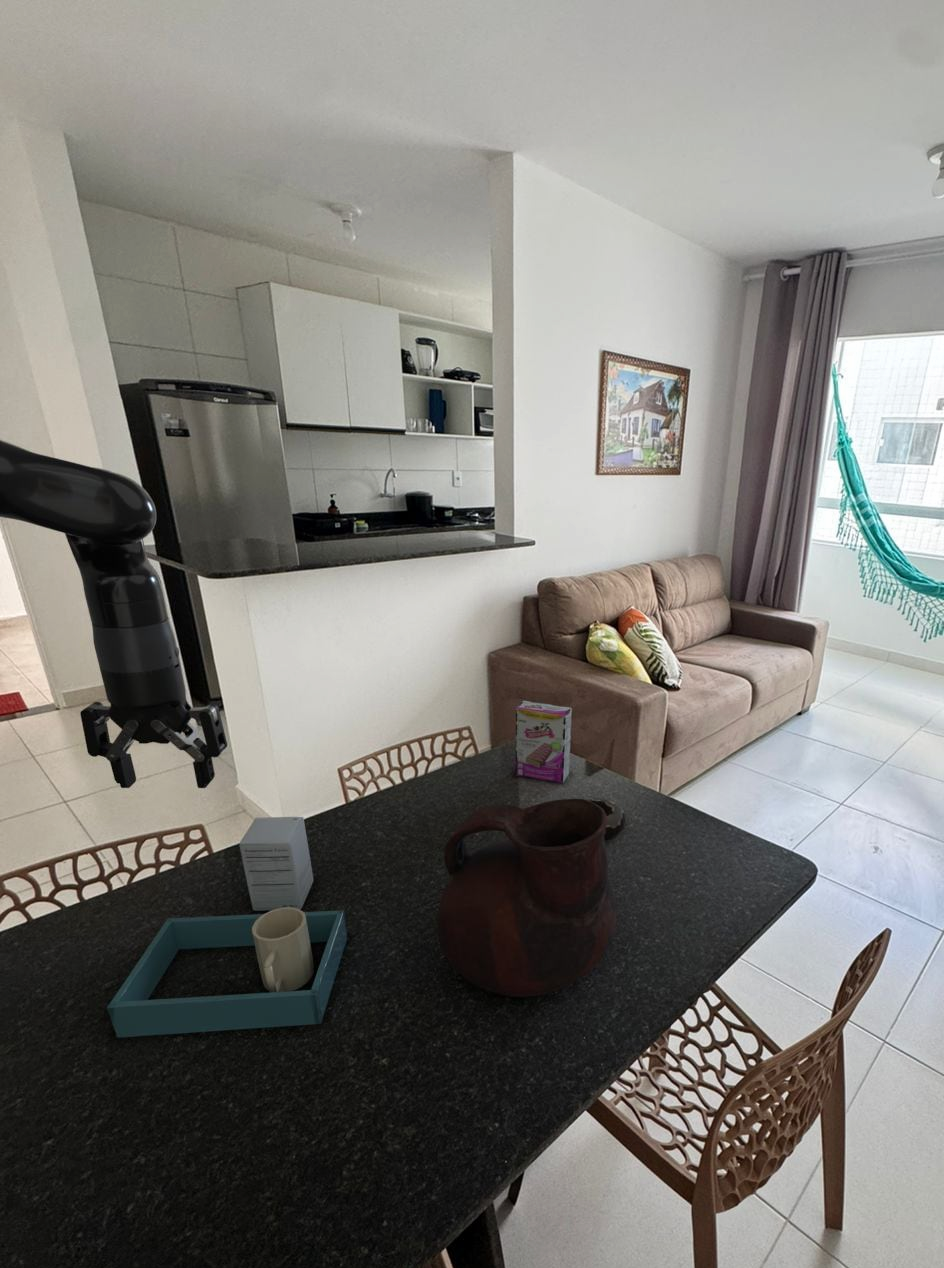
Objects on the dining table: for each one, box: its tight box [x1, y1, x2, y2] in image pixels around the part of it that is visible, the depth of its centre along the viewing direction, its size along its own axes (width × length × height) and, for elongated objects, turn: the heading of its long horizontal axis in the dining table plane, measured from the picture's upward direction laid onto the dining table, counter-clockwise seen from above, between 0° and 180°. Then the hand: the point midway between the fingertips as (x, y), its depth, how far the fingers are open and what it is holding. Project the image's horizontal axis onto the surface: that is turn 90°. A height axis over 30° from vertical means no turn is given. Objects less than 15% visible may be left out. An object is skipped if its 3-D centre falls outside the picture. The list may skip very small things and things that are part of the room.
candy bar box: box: [515, 700, 573, 784], centre depth 142 cm, size 11×5×16 cm, turn 77°
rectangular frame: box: [106, 909, 348, 1039], centre depth 88 cm, size 24×16×5 cm, turn 97°
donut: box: [583, 797, 627, 841], centre depth 127 cm, size 12×12×4 cm
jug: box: [436, 798, 618, 998], centre depth 91 cm, size 25×25×25 cm
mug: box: [252, 907, 315, 993], centre depth 87 cm, size 9×6×9 cm
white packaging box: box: [238, 816, 314, 912], centre depth 103 cm, size 7×7×13 cm
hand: (167, 785), depth 81 cm, fingers open, 8 cm apart
